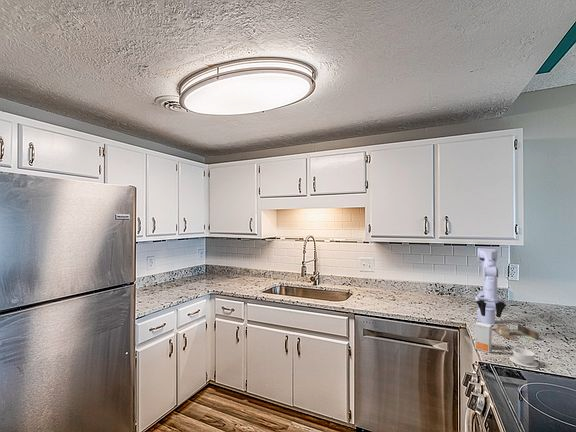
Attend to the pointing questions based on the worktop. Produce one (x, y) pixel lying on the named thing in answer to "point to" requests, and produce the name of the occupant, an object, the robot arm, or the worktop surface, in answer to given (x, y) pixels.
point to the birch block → (502, 329)
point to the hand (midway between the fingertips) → (490, 316)
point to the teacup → (524, 358)
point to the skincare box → (483, 337)
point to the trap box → (521, 333)
